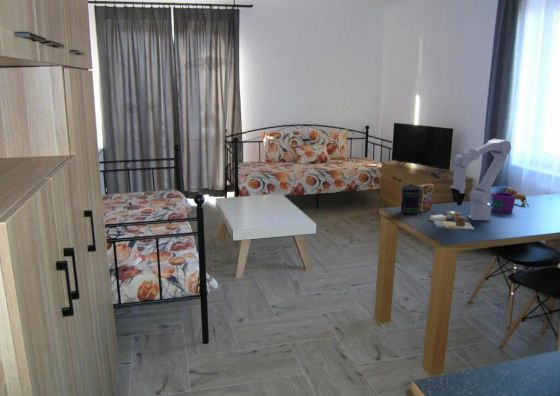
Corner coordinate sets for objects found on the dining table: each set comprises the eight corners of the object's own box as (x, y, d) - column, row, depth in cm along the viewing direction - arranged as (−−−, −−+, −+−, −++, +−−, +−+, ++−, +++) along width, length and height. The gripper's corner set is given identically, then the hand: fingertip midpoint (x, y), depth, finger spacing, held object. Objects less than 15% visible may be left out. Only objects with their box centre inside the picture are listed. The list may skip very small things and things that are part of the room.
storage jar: (417, 211, 270) (419, 185, 266) (419, 216, 260) (421, 189, 257) (399, 210, 271) (401, 185, 268) (401, 215, 262) (402, 189, 258)
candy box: (421, 212, 267) (423, 186, 264) (415, 210, 271) (417, 184, 267) (431, 209, 272) (433, 184, 268) (425, 208, 276) (427, 182, 272)
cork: (459, 220, 252) (460, 212, 251) (461, 222, 249) (461, 213, 248) (453, 220, 252) (454, 212, 251) (455, 221, 249) (455, 213, 248)
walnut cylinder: (463, 223, 245) (464, 216, 244) (465, 226, 241) (466, 218, 240) (454, 223, 245) (455, 216, 244) (456, 226, 241) (457, 218, 240)
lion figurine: (502, 202, 287) (504, 188, 285) (507, 201, 290) (508, 186, 288) (527, 207, 276) (529, 192, 274) (531, 205, 279) (533, 191, 277)
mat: (468, 222, 248) (468, 221, 248) (474, 229, 237) (474, 227, 237) (433, 221, 250) (433, 220, 250) (437, 228, 239) (437, 226, 239)
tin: (455, 217, 259) (456, 210, 258) (457, 220, 253) (458, 213, 252) (444, 216, 260) (444, 210, 259) (445, 219, 254) (446, 213, 253)
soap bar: (440, 218, 256) (440, 214, 256) (445, 221, 252) (446, 216, 251) (429, 220, 254) (429, 215, 253) (434, 222, 250) (435, 218, 249)
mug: (517, 212, 267) (519, 194, 264) (506, 215, 261) (508, 197, 258) (489, 205, 281) (490, 189, 278) (477, 208, 274) (479, 191, 272)
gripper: (448, 175, 252) (446, 199, 255) (455, 180, 238) (452, 206, 241) (462, 175, 251) (459, 200, 254) (469, 181, 237) (466, 207, 241)
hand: (457, 203), depth 248 cm, fingers open, 7 cm apart
